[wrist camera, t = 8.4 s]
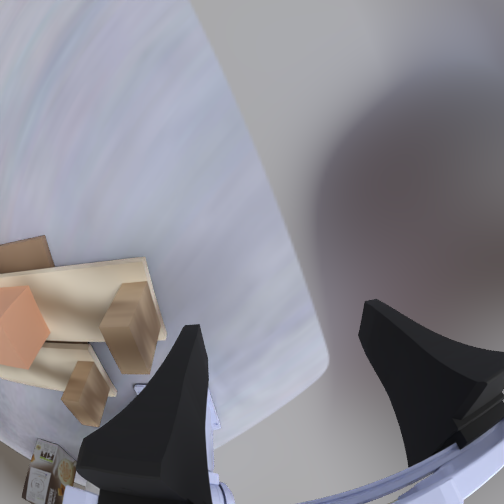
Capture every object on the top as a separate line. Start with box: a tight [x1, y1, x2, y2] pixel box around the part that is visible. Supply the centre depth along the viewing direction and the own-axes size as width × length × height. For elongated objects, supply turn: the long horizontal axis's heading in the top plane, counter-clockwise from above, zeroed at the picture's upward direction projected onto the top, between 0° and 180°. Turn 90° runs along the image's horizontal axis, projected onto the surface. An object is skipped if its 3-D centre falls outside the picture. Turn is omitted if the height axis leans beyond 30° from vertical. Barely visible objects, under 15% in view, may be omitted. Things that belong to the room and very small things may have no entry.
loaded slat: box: [0, 257, 167, 374], centre depth 17 cm, size 7×20×6 cm, turn 94°
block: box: [0, 285, 51, 370], centre depth 16 cm, size 5×5×5 cm
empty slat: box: [0, 342, 117, 427], centre depth 19 cm, size 7×20×6 cm, turn 94°
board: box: [0, 235, 88, 344], centre depth 20 cm, size 18×22×1 cm
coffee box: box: [22, 439, 77, 504], centre depth 27 cm, size 9×6×16 cm
